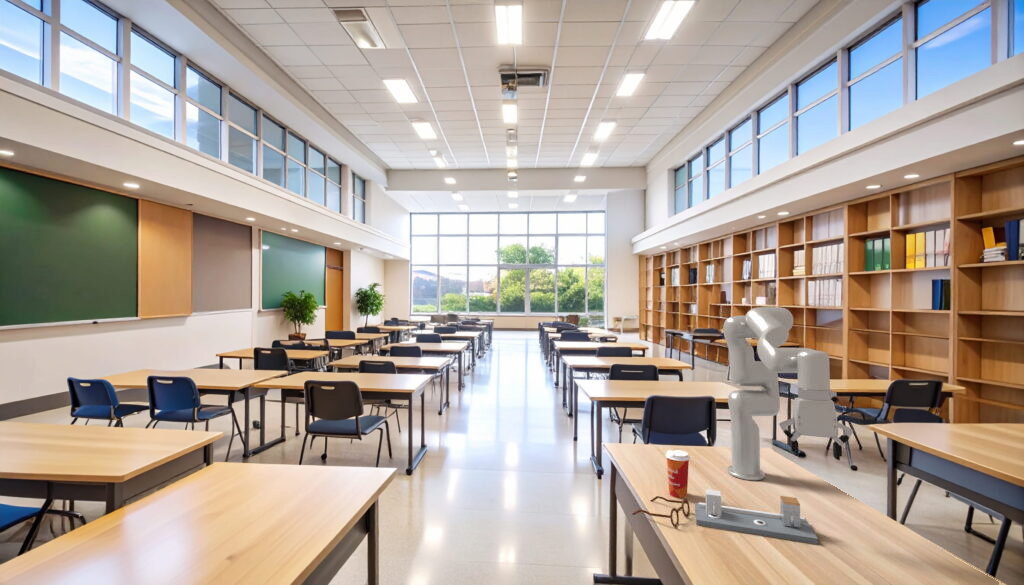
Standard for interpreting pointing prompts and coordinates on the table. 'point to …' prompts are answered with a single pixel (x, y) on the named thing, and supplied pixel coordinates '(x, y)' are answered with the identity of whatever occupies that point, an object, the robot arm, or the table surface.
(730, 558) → the table surface
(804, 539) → the divider plate
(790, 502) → the block
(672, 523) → the glasses
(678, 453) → the paper cup
